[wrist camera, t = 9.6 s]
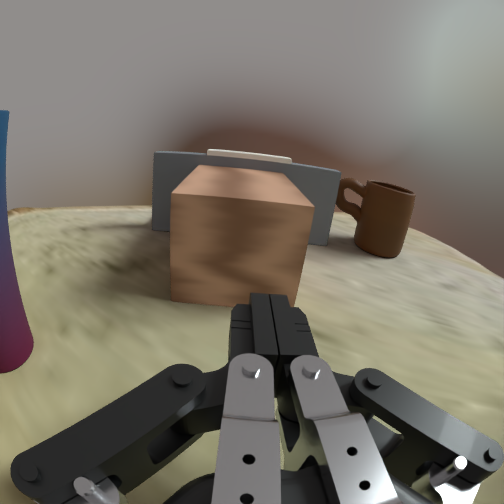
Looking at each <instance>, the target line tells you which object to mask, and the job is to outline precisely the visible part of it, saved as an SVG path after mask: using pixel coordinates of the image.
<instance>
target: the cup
mask: <svg viewBox="0 0 504 504" xmlns="http://www.w3.org/2000/svg"><path fill="white" fill-rule="evenodd" d="M8 120H9V111H8V110H0V373H5V372H9V371H12V370H14V369H16V368H18V367H19V366H21V365H22V364H23V363H24V362H25V361H26V360H27V359H28V357H29V356H30V354H31V352H32V349H33V344H34V341H33V337H32V333H31V330H30V327H29V324H28V321H27V317H26V314H25V310H24V307H23V303H22V299H21V295H20V291H19V286H18V282H17V277H16V272H15V267H14V261H13V256H12V249H11V242H10V235H9V226H8V215H7V202H6V143H7V130H8Z"/></svg>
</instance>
